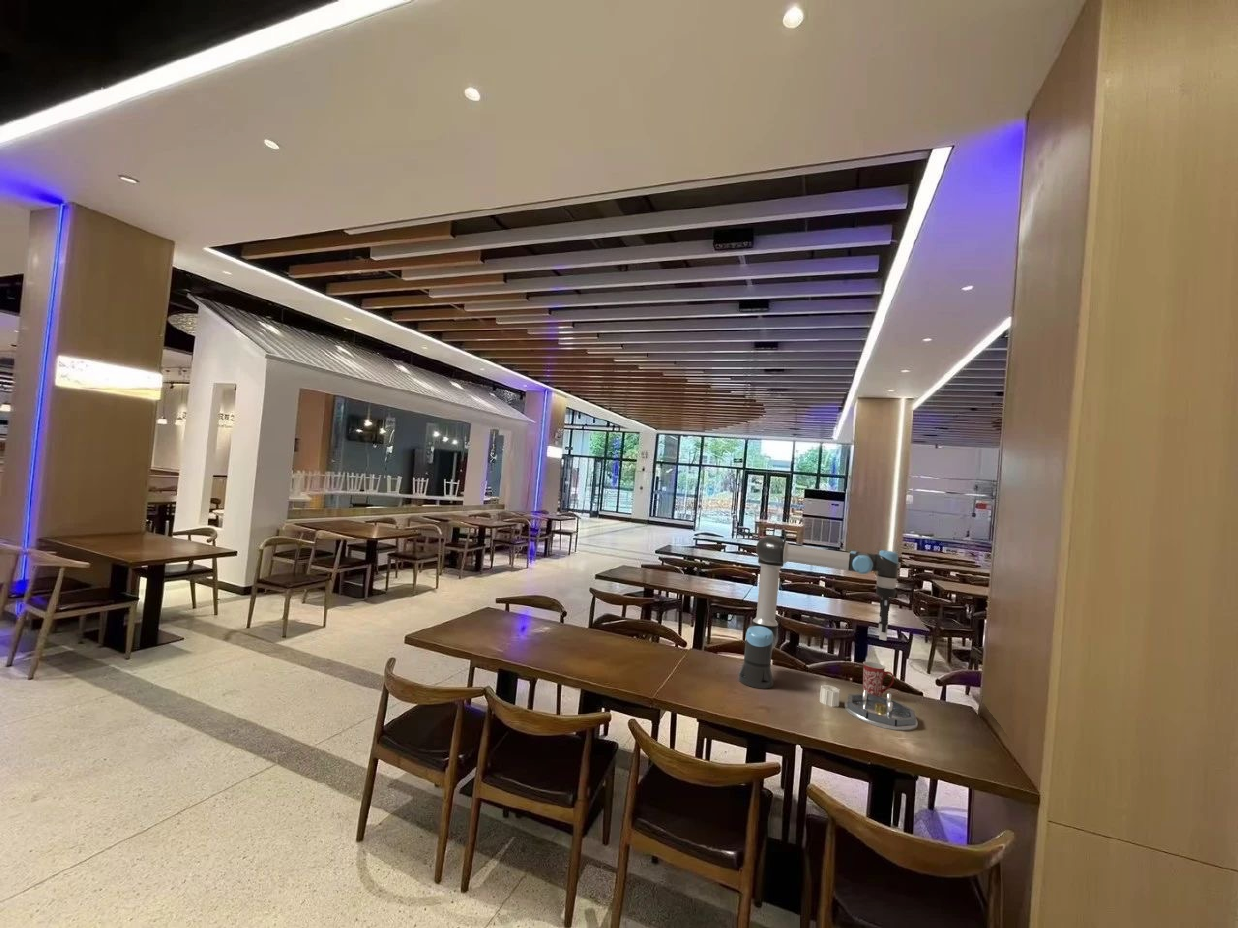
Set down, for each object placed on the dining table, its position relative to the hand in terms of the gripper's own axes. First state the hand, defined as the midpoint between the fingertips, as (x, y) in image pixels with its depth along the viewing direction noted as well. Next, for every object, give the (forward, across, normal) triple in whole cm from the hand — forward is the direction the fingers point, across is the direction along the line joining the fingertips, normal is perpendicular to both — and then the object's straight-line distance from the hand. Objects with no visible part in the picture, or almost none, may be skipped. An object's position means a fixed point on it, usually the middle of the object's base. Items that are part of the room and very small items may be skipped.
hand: (882, 636), depth 227 cm
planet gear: (+28, -16, +18) cm, 37 cm away
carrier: (+28, -15, -1) cm, 32 cm away
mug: (+28, +7, 0) cm, 29 cm away
